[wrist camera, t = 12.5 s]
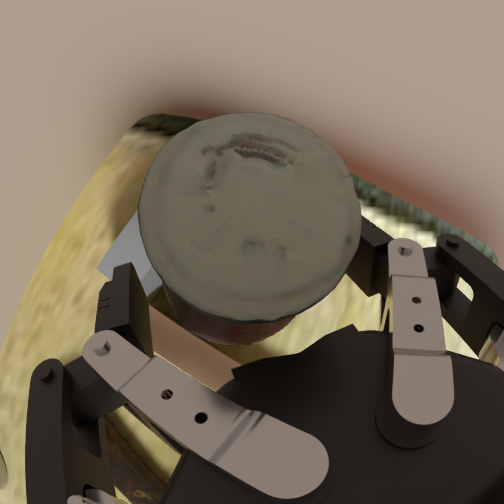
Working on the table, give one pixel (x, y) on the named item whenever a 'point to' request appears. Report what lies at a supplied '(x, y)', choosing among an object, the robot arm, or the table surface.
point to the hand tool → (131, 471)
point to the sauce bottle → (247, 224)
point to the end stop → (132, 258)
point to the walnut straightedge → (190, 351)
